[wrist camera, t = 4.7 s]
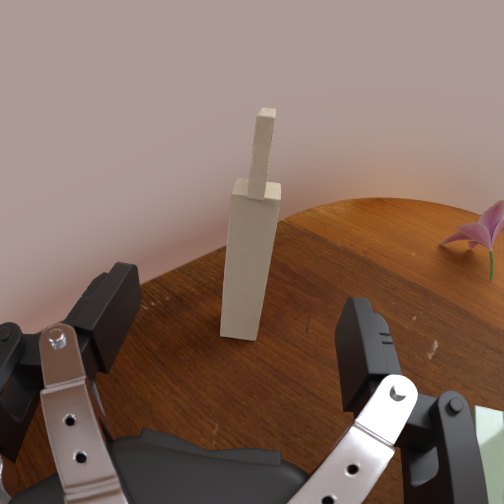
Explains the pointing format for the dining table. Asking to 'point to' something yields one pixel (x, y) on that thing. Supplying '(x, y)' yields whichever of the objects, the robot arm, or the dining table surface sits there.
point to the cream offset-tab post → (250, 238)
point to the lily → (482, 230)
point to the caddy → (491, 449)
